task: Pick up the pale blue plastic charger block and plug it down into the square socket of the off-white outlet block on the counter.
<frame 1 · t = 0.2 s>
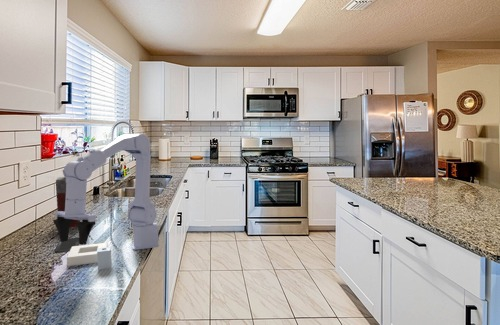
hand: (73, 242, 107), 10 cm above the countertop, tool pointing down, fingers open, 7 cm apart
dark red tall piece: (72, 225, 166), on the countertop
outlet block: (88, 257, 122), on the countertop
phone: (68, 246, 136), on the countertop
charger: (105, 266, 114), on the countertop
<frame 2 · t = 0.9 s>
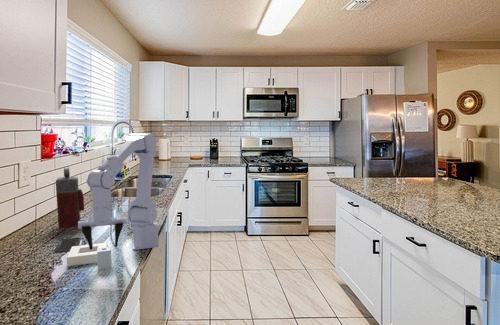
hand: (103, 247, 113), 7 cm above the countertop, tool pointing down, fingers open, 7 cm apart
nothing on the countertop moved.
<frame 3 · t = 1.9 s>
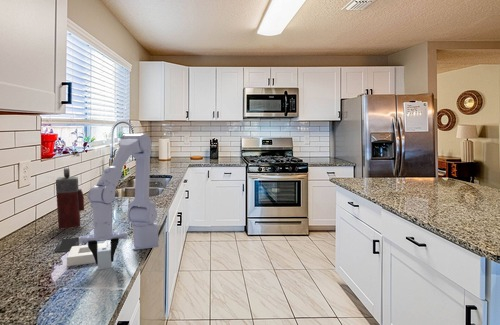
hand: (104, 261, 113), 2 cm above the countertop, tool pointing down, fingers closed on charger, 4 cm apart
charger: (105, 266, 114), on the countertop, touching gripper
everything else where it was.
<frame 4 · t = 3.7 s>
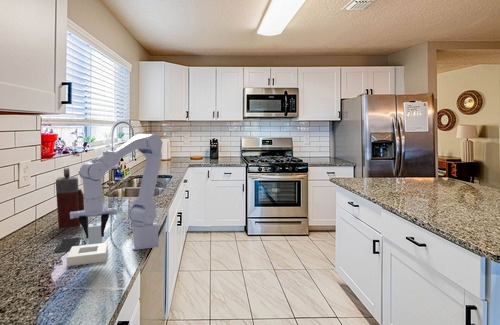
hand: (95, 236, 117), 9 cm above the countertop, tool pointing down, fingers closed on charger, 4 cm apart
charger: (95, 242, 117), point 7 cm above the countertop, touching gripper
everything else where it was.
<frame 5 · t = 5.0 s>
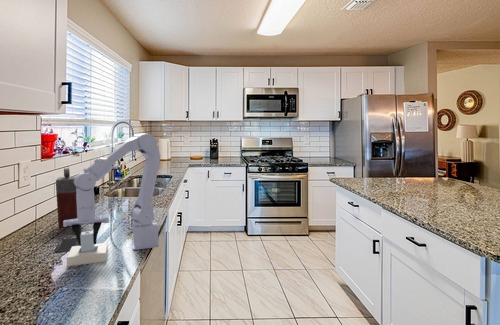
hand: (87, 244, 121), 5 cm above the countertop, tool pointing down, fingers closed on charger, 4 cm apart
charger: (88, 249, 121), point 3 cm above the countertop, touching gripper
everything else where it was.
when the fingers open (4 cm above the countertop, at t = 5.8 s): charger drops 2 cm, resting on outlet block.
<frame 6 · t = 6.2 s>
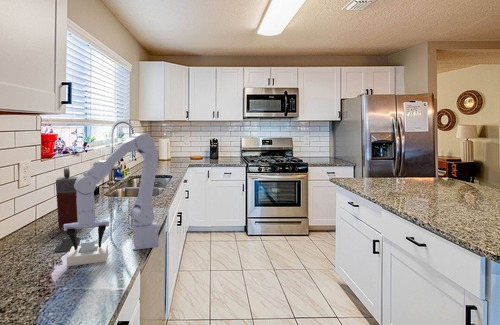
hand: (88, 247, 122), 4 cm above the countertop, tool pointing down, fingers open, 7 cm apart
charger: (88, 257, 122), resting on outlet block
everything else where it was.
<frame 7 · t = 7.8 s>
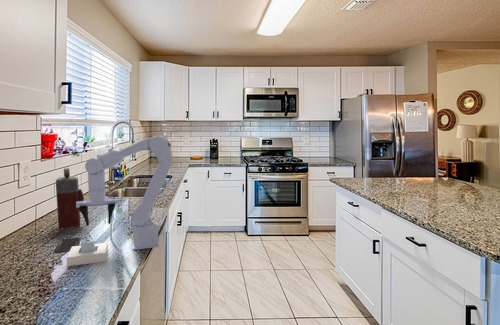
hand: (98, 224, 131), 9 cm above the countertop, tool pointing down, fingers open, 7 cm apart
nothing on the countertop moved.
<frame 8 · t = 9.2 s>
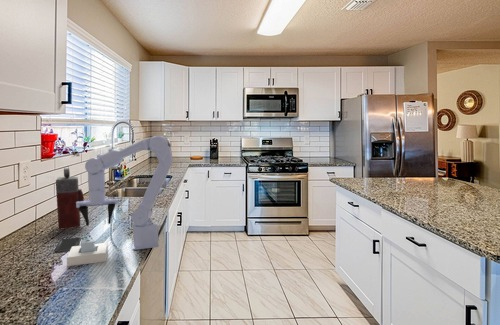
hand: (98, 224, 131), 9 cm above the countertop, tool pointing down, fingers open, 7 cm apart
nothing on the countertop moved.
at the end: charger 0.2 cm off-centre on the outlet block, point 0.2 cm above the outlet block's base; charger tilted 0°; the gripper is holding nothing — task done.
